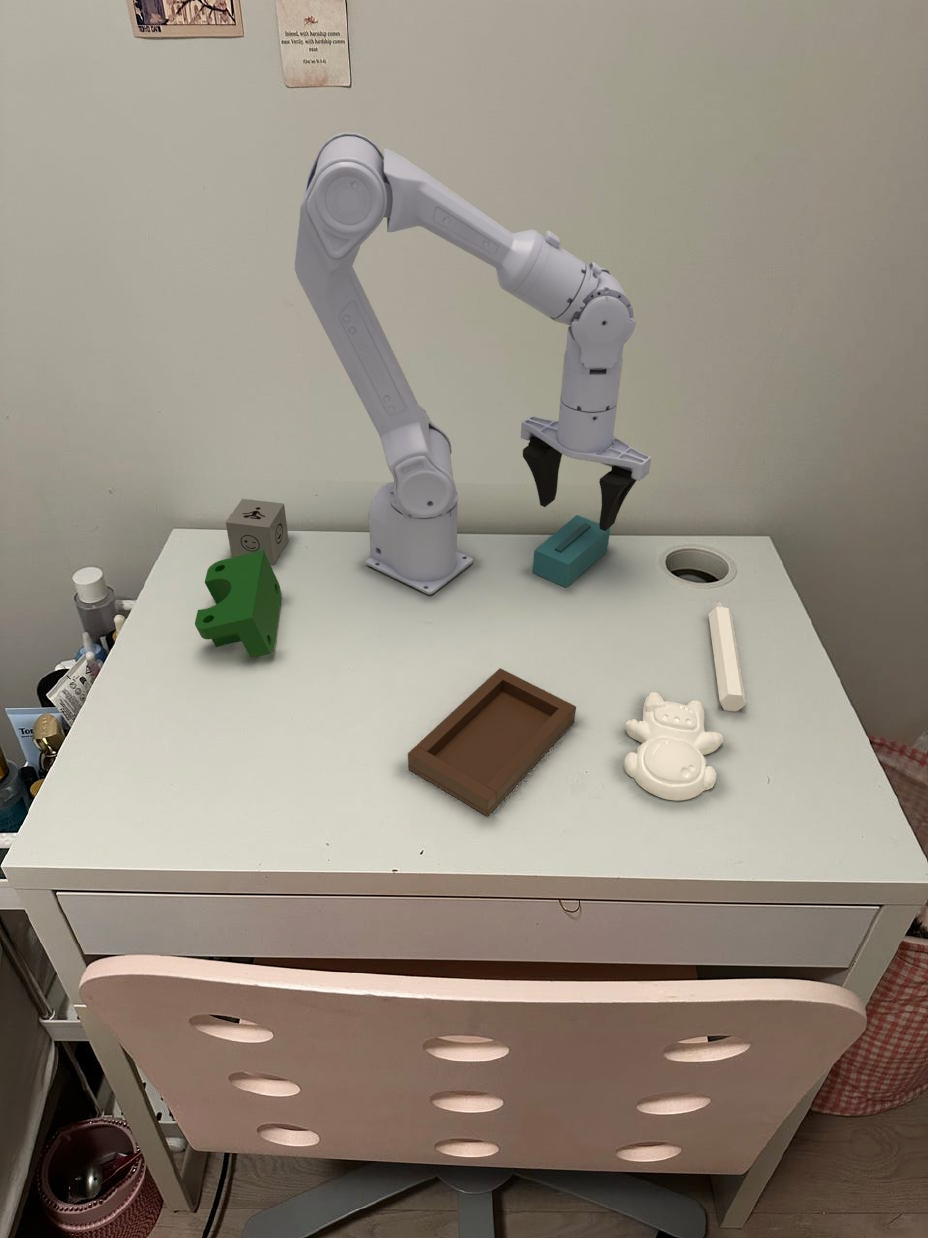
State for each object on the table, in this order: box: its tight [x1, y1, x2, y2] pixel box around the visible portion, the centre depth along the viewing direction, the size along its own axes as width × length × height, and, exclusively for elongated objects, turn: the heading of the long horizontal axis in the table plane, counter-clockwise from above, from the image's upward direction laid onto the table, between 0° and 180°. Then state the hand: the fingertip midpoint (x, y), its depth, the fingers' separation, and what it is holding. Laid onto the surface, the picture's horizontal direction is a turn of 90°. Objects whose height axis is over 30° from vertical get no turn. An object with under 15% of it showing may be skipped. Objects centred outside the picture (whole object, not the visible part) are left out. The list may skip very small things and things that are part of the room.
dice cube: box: [225, 498, 290, 565], centre depth 106 cm, size 5×5×5 cm
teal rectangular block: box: [532, 514, 611, 588], centre depth 105 cm, size 9×4×4 cm, turn 143°
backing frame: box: [407, 668, 577, 817], centre depth 83 cm, size 14×9×2 cm, turn 143°
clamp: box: [194, 550, 282, 659], centre depth 94 cm, size 12×6×9 cm, turn 178°
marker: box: [708, 599, 747, 712], centre depth 93 cm, size 3×2×16 cm
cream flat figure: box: [623, 691, 724, 801], centre depth 83 cm, size 9×12×3 cm
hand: (576, 514), depth 102 cm, fingers open, 7 cm apart
